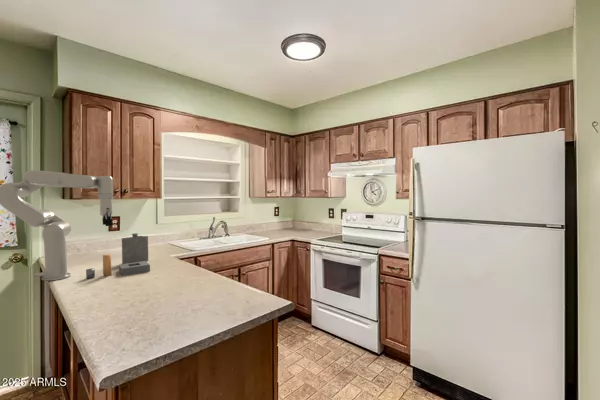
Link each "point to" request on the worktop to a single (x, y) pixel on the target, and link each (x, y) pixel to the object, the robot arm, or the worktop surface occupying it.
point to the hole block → (134, 268)
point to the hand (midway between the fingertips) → (107, 225)
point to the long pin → (107, 265)
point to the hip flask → (134, 249)
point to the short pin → (90, 273)
